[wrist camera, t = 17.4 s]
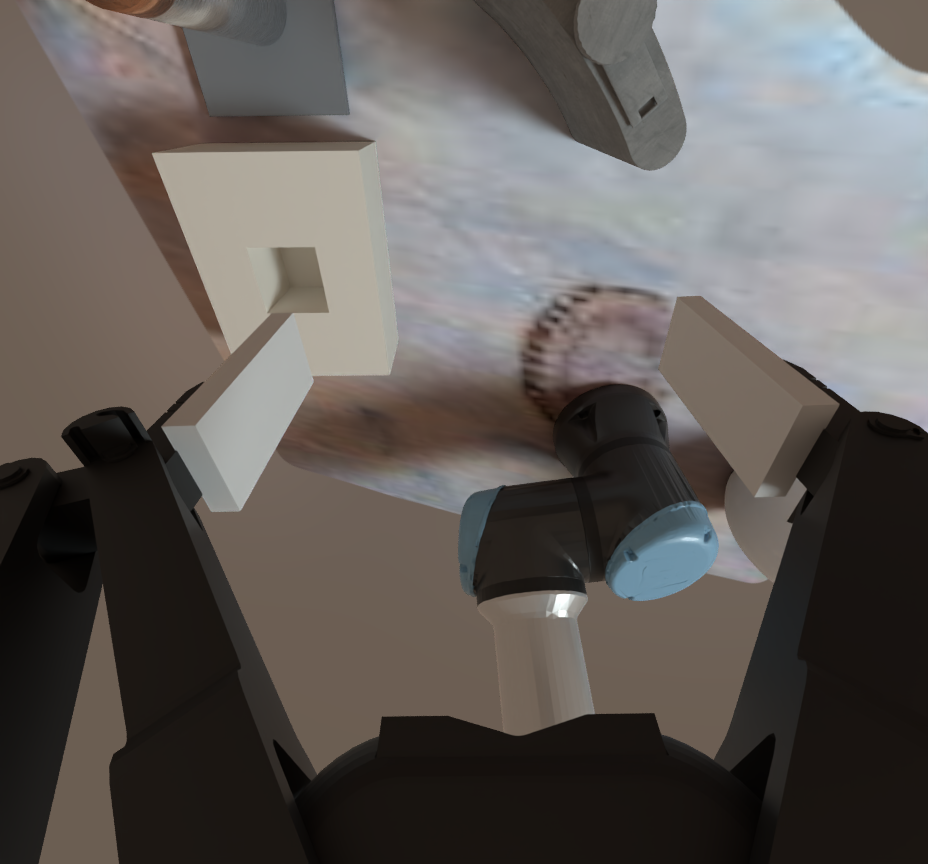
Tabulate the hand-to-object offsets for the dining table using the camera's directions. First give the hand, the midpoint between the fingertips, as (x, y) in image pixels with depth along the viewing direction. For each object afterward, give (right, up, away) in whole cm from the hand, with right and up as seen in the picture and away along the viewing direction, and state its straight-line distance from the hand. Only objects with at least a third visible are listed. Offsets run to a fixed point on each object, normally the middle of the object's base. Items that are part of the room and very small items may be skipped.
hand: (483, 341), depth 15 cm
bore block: (-17, +16, +30) cm, 38 cm away
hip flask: (+6, +28, +20) cm, 35 cm away
